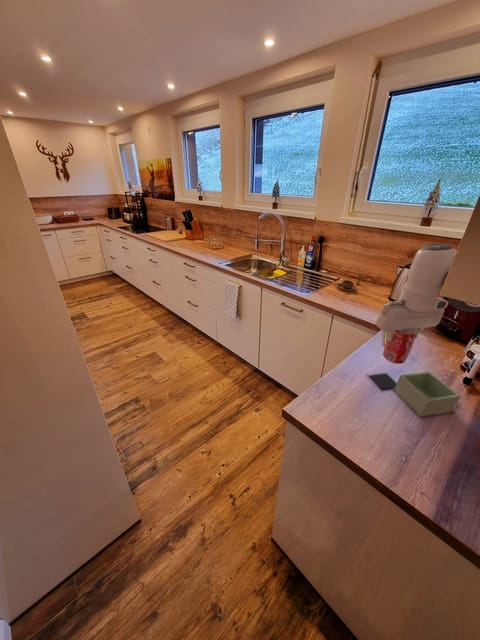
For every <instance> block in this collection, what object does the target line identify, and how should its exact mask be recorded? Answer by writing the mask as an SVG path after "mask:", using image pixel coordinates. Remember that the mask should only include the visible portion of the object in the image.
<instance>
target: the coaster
mask: <svg viewBox="0 0 480 640" xmlns="http://www.w3.org/2000/svg"><path fill="white" fill-rule="evenodd" d="M368 377H369V378H370V379H371V380H372V381H373V382H374V383H375V385H376V386H378V387H379V389H380V390H381V391H384V390H391V389H395V387H396V384H397V381H395V380H394V379H393V378H392V377H391V376H390V375H388V374H387V373H380V374H379V373H378V374H370V375H369V376H368Z"/></svg>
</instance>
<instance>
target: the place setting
mask: <svg viewBox="0 0 480 640" xmlns="http://www.w3.org/2000/svg"><path fill="white" fill-rule="evenodd" d="M361 280H362V275H357V282H356V283H355V282H354V281H352V280H347V279H343V280H342V282H340V283H334V285H336V286H337V287H336V288H337V289H338V290H340V291H342V292H344V293H345V292H346V293H345V294H347V295H348V294H349V293H351V294H358V293H359V291H357V288H358V287H357V286H361V284H360V281H361ZM354 283H355V285H354Z"/></svg>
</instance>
